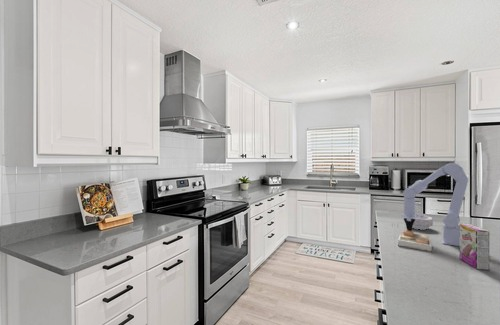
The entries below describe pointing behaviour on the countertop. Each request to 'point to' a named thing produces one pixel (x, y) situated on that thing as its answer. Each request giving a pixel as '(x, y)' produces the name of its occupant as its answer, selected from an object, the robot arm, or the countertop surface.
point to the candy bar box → (474, 246)
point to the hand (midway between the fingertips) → (409, 230)
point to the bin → (414, 244)
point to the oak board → (415, 237)
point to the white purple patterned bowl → (422, 222)
